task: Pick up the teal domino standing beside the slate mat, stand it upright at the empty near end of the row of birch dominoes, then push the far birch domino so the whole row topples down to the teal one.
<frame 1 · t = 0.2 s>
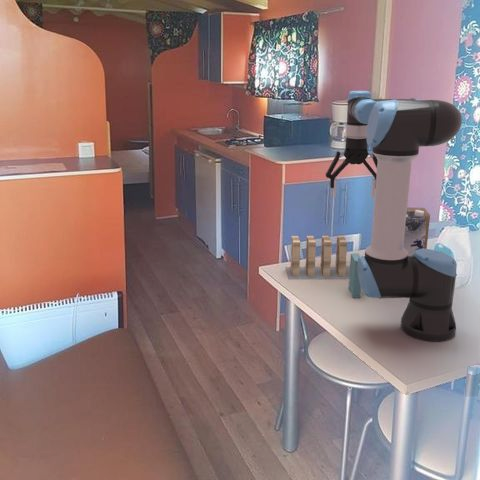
hand: (353, 197, 200), 27 cm above the table, tool pointing down, fingers open, 13 cm apart
tile 2: (310, 272, 204), resting on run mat
tile 4: (340, 272, 204), resting on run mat
tile 3: (325, 272, 204), resting on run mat
wooden block: (409, 260, 217), on the table
tile 1: (294, 273, 204), resting on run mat
juice carton: (405, 286, 193), on the table
end tile: (354, 293, 187), on the table
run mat: (330, 273, 204), on the table
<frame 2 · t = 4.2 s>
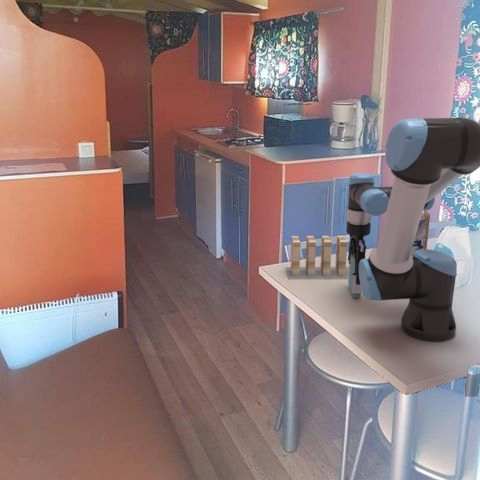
hand: (354, 287, 186), 2 cm above the table, tool pointing down, fingers closed on end tile, 7 cm apart
end tile: (354, 293, 187), on the table, touching gripper
everything else where it was.
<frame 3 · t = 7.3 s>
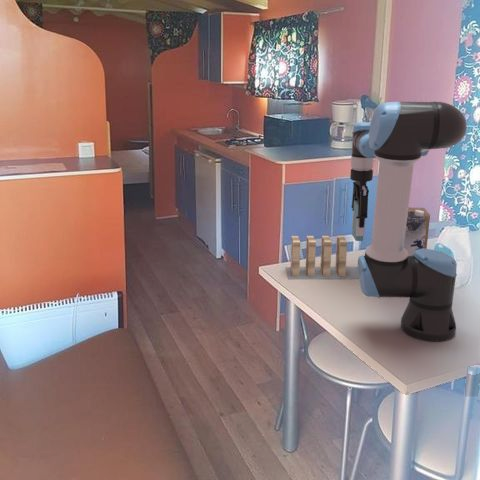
hand: (357, 232, 199), 16 cm above the table, tool pointing down, fingers closed on end tile, 7 cm apart
end tile: (357, 237, 200), point 14 cm above the table, touching gripper
everything else where it was.
when the fingers open (3 cm above the table, at t = 10.8 s): end tile stays where it is, resting on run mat.
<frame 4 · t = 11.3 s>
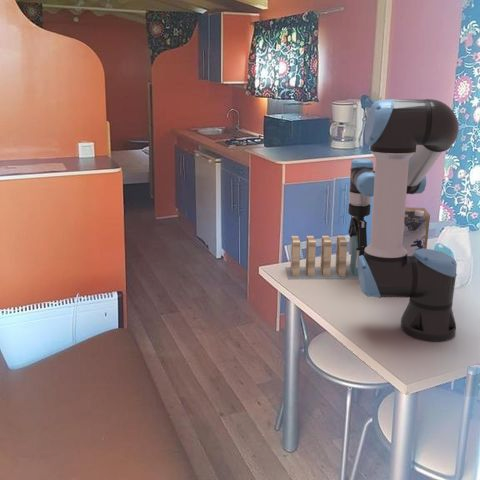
hand: (356, 260, 202), 5 cm above the table, tool pointing down, fingers open, 13 cm apart
end tile: (355, 272, 204), resting on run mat
everything else where it was.
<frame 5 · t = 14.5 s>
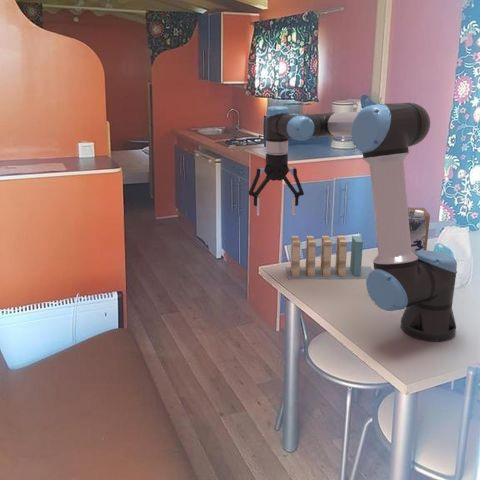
hand: (275, 214, 197), 22 cm above the table, tool pointing down, fingers open, 12 cm apart
nothing on the table moved.
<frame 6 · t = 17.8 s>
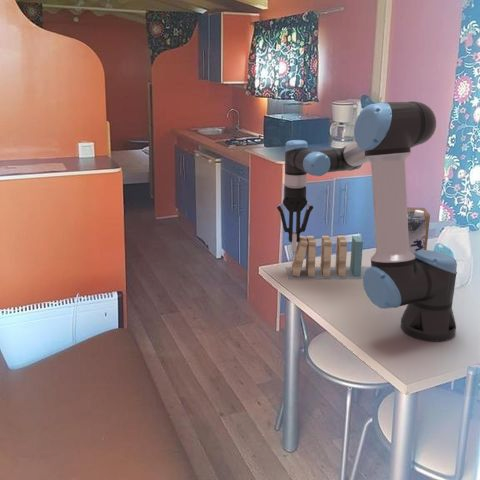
hand: (293, 250, 201), 9 cm above the table, tool pointing down, fingers closed
tile 1: (294, 272, 204), point 1 cm above the table, tilted 12°, touching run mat
everything else where it was.
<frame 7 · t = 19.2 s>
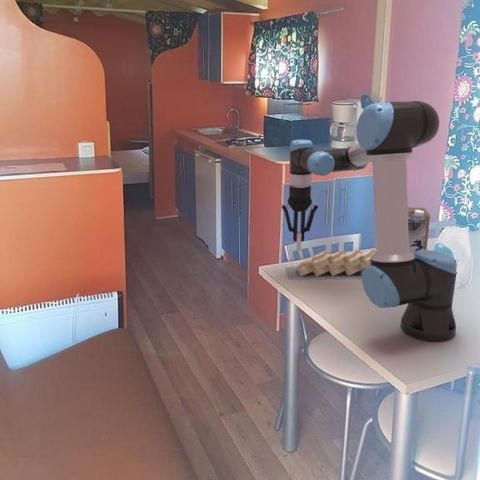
hand: (298, 249, 201), 9 cm above the table, tool pointing down, fingers closed
tile 2: (313, 270, 203), point 1 cm above the table, tilted 64°, touching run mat, tile 1, tile 3
tile 4: (344, 269, 203), point 2 cm above the table, tilted 64°, touching end tile, tile 3
tile 3: (329, 270, 203), point 1 cm above the table, tilted 64°, touching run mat, tile 2, tile 4
tile 1: (298, 270, 203), point 2 cm above the table, tilted 64°, touching tile 2
end tile: (359, 269, 203), point 2 cm above the table, tilted 90°, touching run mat, tile 4
everything else where it was.
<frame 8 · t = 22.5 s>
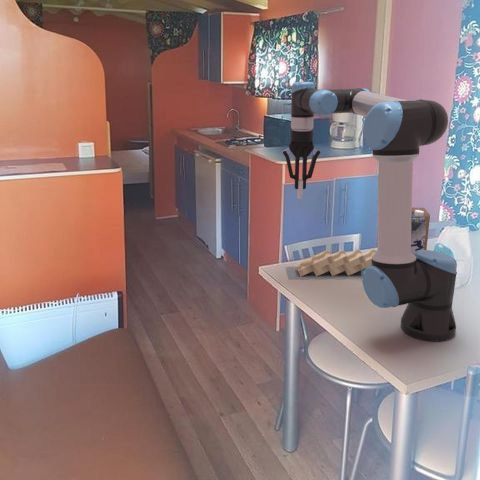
hand: (299, 198, 195), 28 cm above the table, tool pointing down, fingers closed
nothing on the table moved.
at the end: tile 1 tilted 64°; end tile tilted 90°; end tile inside the target area (1.7 cm from its centre), point 1.6 cm above the table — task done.
